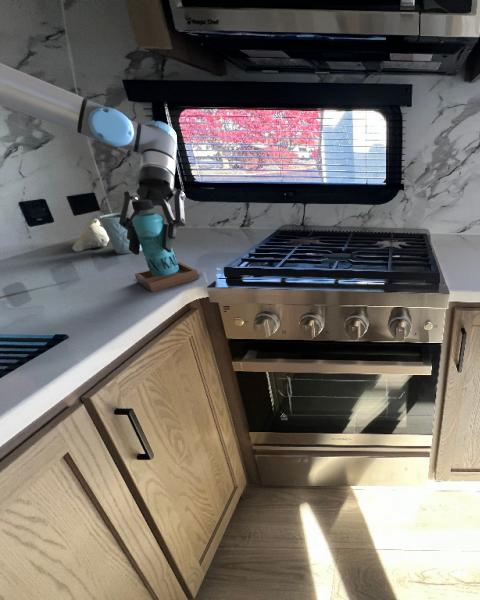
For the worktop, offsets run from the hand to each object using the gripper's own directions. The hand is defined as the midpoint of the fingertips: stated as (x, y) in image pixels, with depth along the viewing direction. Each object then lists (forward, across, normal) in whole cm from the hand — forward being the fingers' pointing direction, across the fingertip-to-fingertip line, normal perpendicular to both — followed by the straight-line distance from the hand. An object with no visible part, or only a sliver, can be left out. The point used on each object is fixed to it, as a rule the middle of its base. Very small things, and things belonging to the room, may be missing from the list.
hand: (150, 250), depth 81 cm
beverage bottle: (+4, 0, -9) cm, 9 cm away
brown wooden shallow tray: (+4, 0, -9) cm, 10 cm away
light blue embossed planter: (-20, +25, -33) cm, 46 cm away
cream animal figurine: (-26, +41, -39) cm, 63 cm away
